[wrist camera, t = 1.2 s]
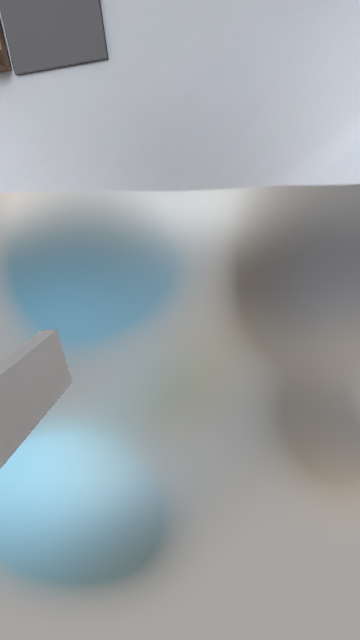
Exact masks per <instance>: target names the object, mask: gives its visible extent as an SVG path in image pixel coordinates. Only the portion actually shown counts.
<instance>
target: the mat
mask: <svg viewBox="0 0 360 640" xmlns="http://www.w3.org/2000/svg"><path fill="white" fill-rule="evenodd" d="M0 11H1V15H2V19H3V24H4V28H5V33H6V37H7V41H8V46H9V50H10V55H11V59H12V64H13V68H14V72H15V74H16V75H20V74H25V73H31V72H36V71H42V70H47V69H53V68H59V67H64V66H70V65H75V64H81V63H86V62H92V61H97V60H103V59H108V57H107V49H106V42H105V35H104V28H103V21H102V14H101V7H100V0H0Z"/></svg>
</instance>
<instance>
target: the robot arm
mask: <svg viewBox="0 0 360 640" xmlns="http://www.w3.org/2000/svg"><path fill="white" fill-rule="evenodd" d="M71 383H72V379H71V375H70V372H69V369H68V365H67V362H66V359H65V355H64V352H63V349H62V345H61V342H60V339H59V335H58V332H57V329H55V330H42V331H40V332H39V333H37V334H36V335H35V336H33V337H32V338H31V339H30V340H28V341H27V342H26V343H24V344H23V345H22V346H20V347H19V348H18V349H16V350H15V351H14V352H12V353H11V354H10V355H8V356H7V357H6V358H5V359H3V360H2V361H1V362H0V469H1V467H2V466H3V465H4V464H5V463H6V462H7V460H8V459H9V458H10V456H12V454H13V453H14V452H15V451H16V449H17V448H18V447H19V446H20V445H21V443H22V442H23V441H24V440H25V439H26V437H27V436H28V435H29V434H30V433H31V431H32V430H33V429H34V428H35V426H36V425H37V424H38V423H39V422H40V420H41V419H42V418H43V417H44V416H45V414H46V413H47V412H48V411H49V410H50V408H51V407H52V406H53V405H54V403H55V402H56V401H57V400H58V399H59V398H60V396H61V395H62V394H63V393H64V391H65V390H66V389H67V388H68V387H69V385H70V384H71Z"/></svg>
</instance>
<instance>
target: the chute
mask: <svg viewBox="0 0 360 640" xmlns="http://www.w3.org/2000/svg"><path fill="white" fill-rule="evenodd" d="M9 70H11V68H10V63H9V59H8V55H7V50H6V46H5V41H4V37H3V33H2V28H1V24H0V72H3V71H9Z"/></svg>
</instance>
